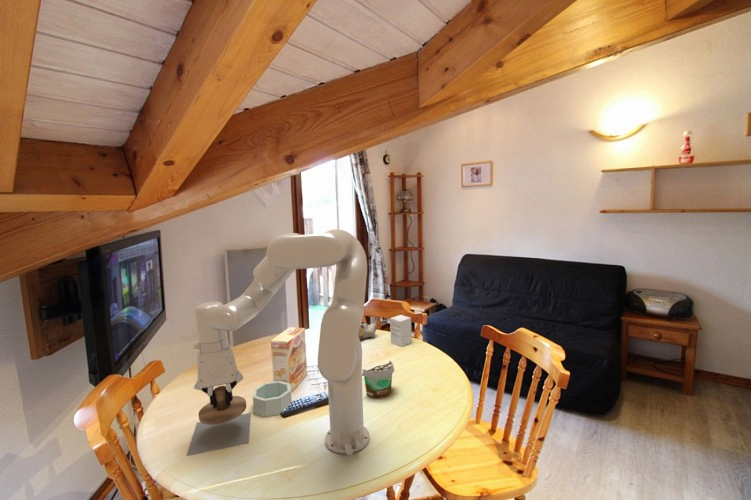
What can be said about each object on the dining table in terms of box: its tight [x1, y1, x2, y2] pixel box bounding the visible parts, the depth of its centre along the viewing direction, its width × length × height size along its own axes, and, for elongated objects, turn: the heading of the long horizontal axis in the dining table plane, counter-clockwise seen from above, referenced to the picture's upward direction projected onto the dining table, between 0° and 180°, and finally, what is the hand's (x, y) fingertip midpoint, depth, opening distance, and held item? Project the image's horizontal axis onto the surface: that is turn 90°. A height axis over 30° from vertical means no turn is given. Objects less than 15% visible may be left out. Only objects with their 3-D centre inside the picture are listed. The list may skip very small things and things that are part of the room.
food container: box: [362, 360, 395, 399], centre depth 127 cm, size 12×6×10 cm, turn 123°
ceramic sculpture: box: [358, 321, 377, 341], centre depth 181 cm, size 11×9×15 cm
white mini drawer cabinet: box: [389, 314, 413, 348], centre depth 173 cm, size 7×7×13 cm
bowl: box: [252, 381, 293, 418], centre depth 121 cm, size 12×12×6 cm
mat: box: [185, 412, 252, 457], centre depth 108 cm, size 16×16×1 cm
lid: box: [197, 385, 247, 425], centre depth 106 cm, size 13×13×7 cm
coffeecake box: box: [270, 326, 308, 393], centre depth 137 cm, size 15×7×20 cm, turn 167°
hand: (222, 404), depth 106 cm, fingers closed on lid, 3 cm apart
